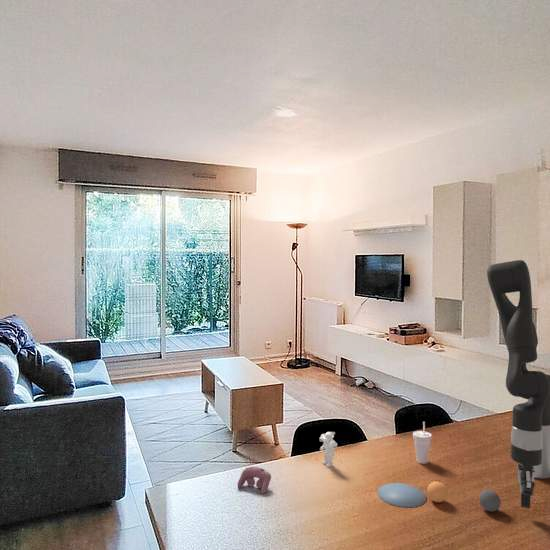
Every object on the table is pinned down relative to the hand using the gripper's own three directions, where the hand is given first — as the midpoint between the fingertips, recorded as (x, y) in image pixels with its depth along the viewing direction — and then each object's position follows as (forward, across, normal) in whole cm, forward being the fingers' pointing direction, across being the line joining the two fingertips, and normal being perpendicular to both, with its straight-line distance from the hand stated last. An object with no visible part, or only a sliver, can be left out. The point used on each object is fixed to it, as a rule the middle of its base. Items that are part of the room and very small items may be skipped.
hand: (525, 506), depth 126 cm
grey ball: (0, 0, -9) cm, 9 cm away
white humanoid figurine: (+3, -12, -59) cm, 60 cm away
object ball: (0, 0, -23) cm, 23 cm away
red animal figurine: (+4, +12, -76) cm, 77 cm away
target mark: (+3, 0, -33) cm, 33 cm away
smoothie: (+3, -26, -29) cm, 39 cm away
